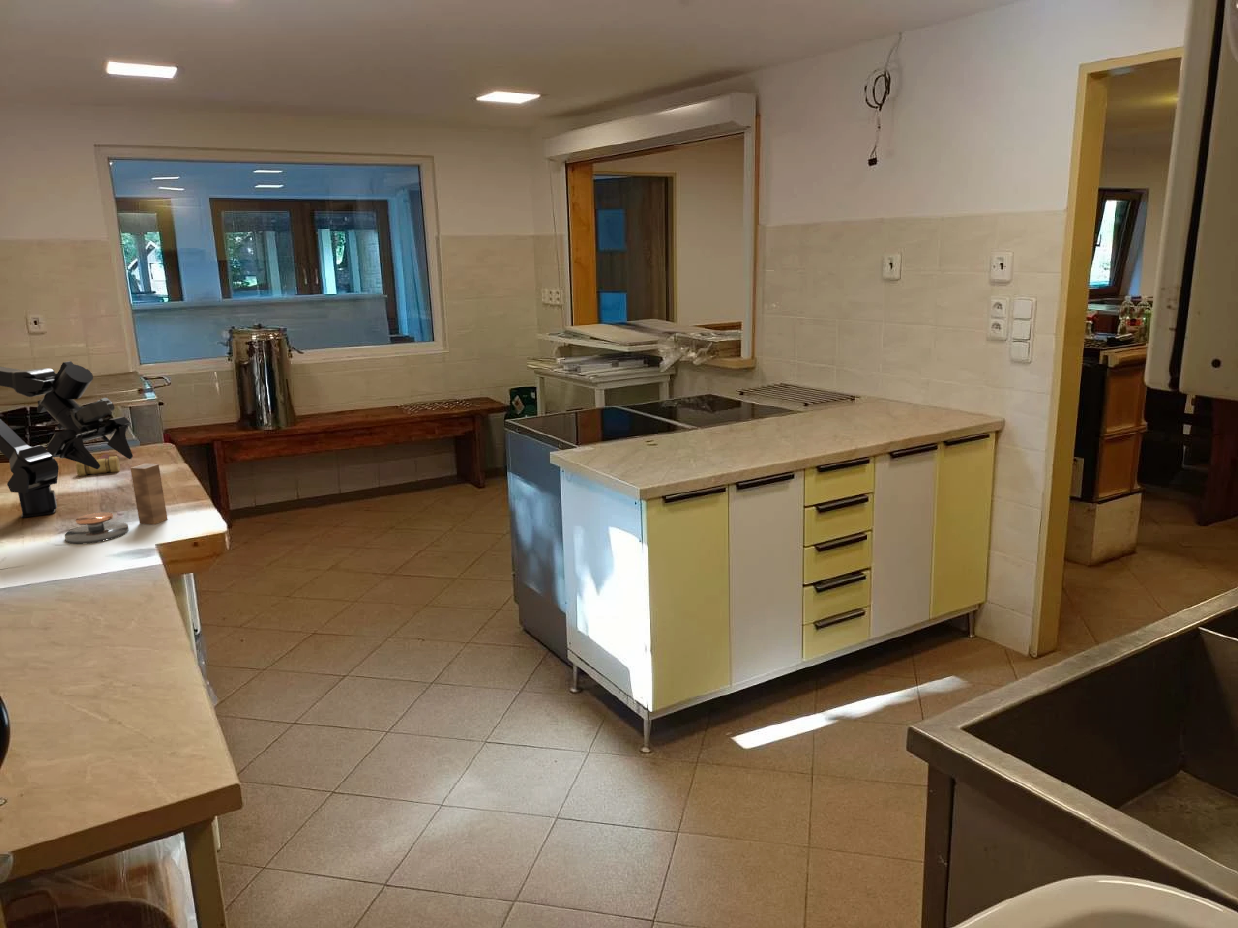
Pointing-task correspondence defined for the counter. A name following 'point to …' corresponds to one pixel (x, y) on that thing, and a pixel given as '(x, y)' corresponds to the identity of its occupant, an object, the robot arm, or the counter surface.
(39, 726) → the counter surface
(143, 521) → the walnut stick
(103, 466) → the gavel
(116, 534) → the copper topped disc
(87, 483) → the counter surface
